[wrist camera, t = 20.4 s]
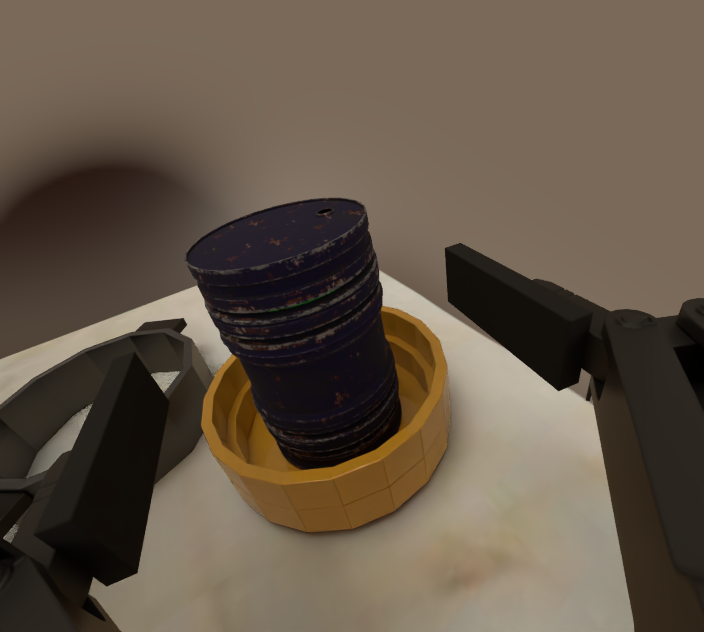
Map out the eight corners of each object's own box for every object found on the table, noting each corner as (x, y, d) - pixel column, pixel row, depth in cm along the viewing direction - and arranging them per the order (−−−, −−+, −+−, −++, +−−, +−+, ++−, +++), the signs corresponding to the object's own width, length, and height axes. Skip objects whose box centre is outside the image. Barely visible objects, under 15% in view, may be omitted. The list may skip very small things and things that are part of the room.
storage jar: (300, 507, 21) (189, 298, 13) (260, 407, 29) (175, 237, 21) (432, 426, 24) (408, 214, 16) (363, 355, 32) (324, 189, 24)
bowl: (364, 605, 17) (339, 554, 14) (192, 458, 27) (156, 409, 24) (485, 384, 27) (485, 327, 24) (327, 335, 37) (314, 290, 34)
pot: (124, 573, 21) (70, 531, 18) (-75, 559, 24) (-145, 523, 21) (250, 347, 38) (232, 309, 35) (123, 358, 41) (98, 324, 38)
